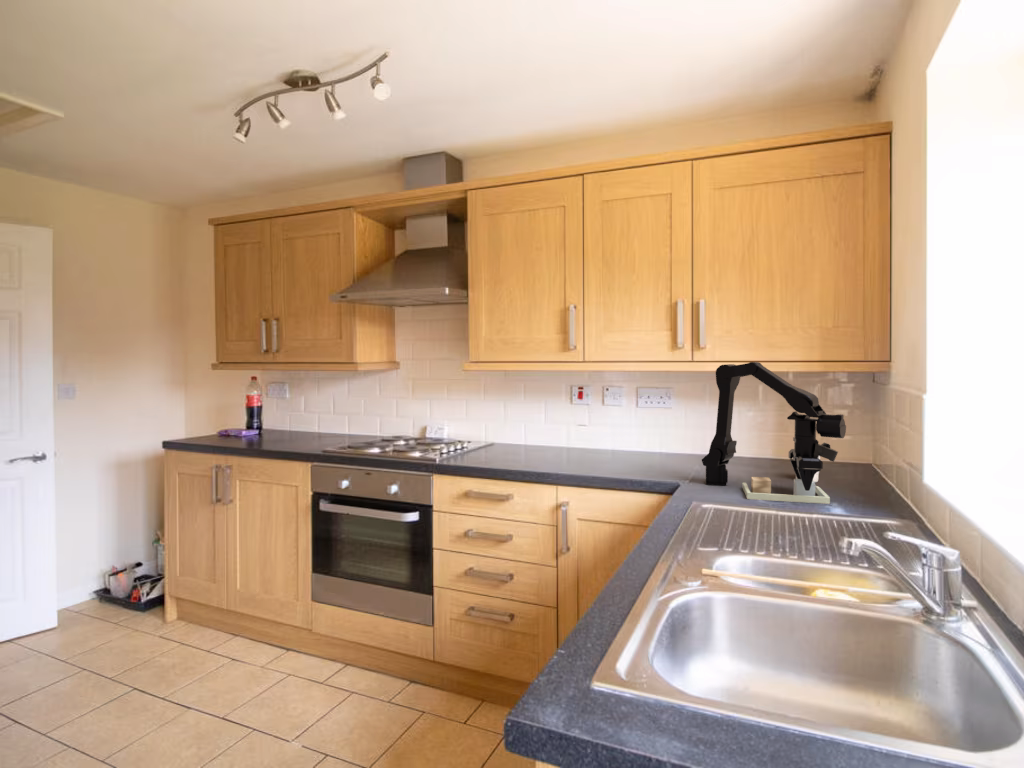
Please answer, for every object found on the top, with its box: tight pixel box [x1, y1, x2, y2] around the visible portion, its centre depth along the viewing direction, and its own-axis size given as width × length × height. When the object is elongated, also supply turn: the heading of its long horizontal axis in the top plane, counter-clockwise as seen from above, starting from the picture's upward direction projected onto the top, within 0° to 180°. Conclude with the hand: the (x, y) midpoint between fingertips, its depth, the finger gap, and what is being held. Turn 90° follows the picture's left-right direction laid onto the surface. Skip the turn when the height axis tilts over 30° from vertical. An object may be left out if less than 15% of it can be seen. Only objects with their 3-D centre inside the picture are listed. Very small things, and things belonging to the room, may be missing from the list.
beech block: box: [750, 476, 772, 494], centre depth 177 cm, size 5×5×5 cm
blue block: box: [793, 478, 816, 496], centre depth 174 cm, size 5×5×5 cm
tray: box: [742, 482, 831, 505], centre depth 176 cm, size 22×15×2 cm
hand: (804, 487), depth 174 cm, fingers open, 9 cm apart
